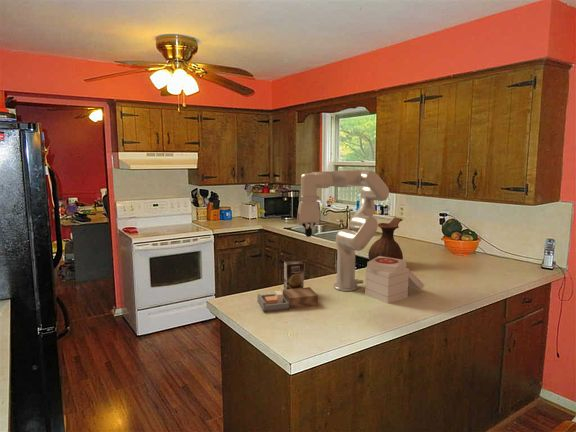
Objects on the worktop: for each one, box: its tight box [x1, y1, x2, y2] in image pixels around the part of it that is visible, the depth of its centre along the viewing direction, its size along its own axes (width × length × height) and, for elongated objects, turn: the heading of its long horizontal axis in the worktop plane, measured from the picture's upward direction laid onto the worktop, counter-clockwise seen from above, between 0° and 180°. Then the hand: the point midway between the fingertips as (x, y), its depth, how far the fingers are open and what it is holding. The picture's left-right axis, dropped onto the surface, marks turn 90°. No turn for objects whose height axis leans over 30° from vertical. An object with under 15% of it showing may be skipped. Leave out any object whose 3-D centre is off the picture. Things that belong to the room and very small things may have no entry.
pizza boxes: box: [364, 256, 425, 304], centre depth 210 cm, size 19×30×18 cm, turn 125°
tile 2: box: [274, 290, 283, 304], centre depth 195 cm, size 5×5×3 cm
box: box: [257, 293, 290, 313], centre depth 194 cm, size 12×14×4 cm
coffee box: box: [283, 260, 305, 290], centre depth 211 cm, size 9×6×16 cm
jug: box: [368, 216, 404, 261], centre depth 258 cm, size 22×22×30 cm
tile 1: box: [265, 296, 277, 305], centre depth 194 cm, size 5×5×3 cm
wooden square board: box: [282, 286, 319, 309], centre depth 198 cm, size 14×12×5 cm
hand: (308, 236), depth 201 cm, fingers closed
